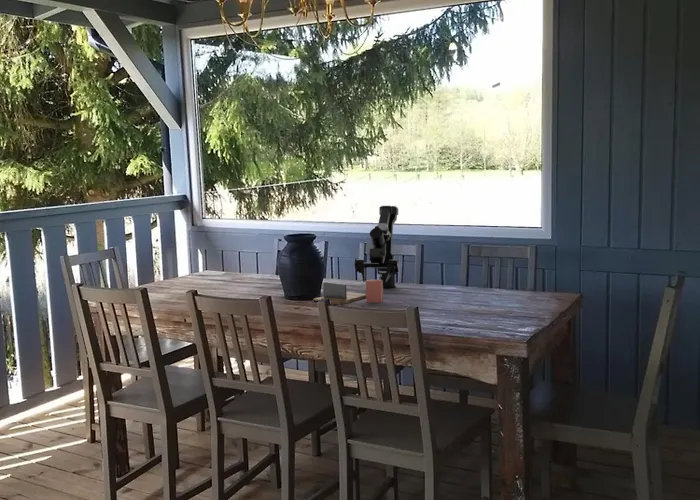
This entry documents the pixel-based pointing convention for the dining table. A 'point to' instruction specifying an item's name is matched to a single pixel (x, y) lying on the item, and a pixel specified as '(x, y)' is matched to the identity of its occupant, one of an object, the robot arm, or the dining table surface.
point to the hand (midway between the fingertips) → (374, 281)
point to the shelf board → (350, 298)
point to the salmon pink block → (374, 291)
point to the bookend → (334, 290)
